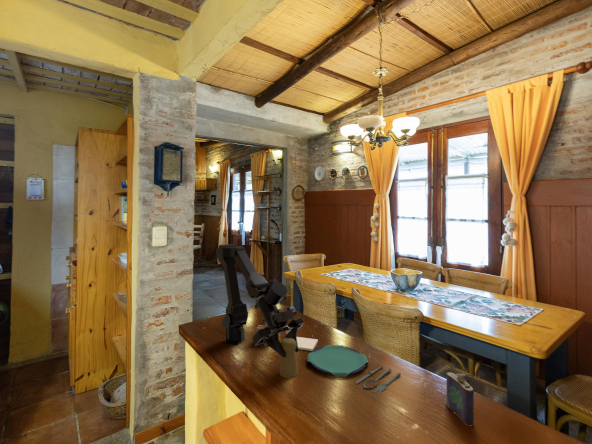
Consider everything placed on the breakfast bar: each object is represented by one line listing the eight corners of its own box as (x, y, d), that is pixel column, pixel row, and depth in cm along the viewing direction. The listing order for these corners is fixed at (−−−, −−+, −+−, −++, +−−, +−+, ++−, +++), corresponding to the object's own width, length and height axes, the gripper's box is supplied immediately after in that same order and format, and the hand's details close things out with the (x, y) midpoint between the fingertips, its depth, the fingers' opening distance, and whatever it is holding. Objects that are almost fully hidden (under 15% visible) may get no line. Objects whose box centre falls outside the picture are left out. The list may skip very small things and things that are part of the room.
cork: (295, 378, 97) (295, 344, 97) (277, 376, 98) (277, 342, 98) (299, 369, 103) (299, 336, 103) (281, 367, 104) (281, 335, 104)
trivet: (289, 347, 119) (289, 345, 119) (296, 338, 128) (296, 336, 128) (312, 351, 116) (312, 349, 116) (317, 341, 125) (317, 339, 125)
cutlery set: (333, 345, 122) (333, 339, 122) (405, 376, 100) (405, 369, 100) (296, 363, 108) (296, 356, 108) (370, 403, 86) (371, 395, 86)
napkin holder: (256, 342, 124) (256, 327, 123) (258, 339, 127) (258, 325, 126) (276, 343, 123) (276, 329, 122) (277, 340, 126) (277, 326, 125)
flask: (443, 404, 85) (444, 365, 84) (453, 403, 85) (454, 364, 85) (466, 427, 75) (468, 384, 75) (477, 426, 76) (479, 383, 75)
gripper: (257, 305, 96) (280, 352, 89) (301, 294, 109) (324, 334, 101) (243, 323, 102) (263, 368, 95) (286, 311, 115) (307, 350, 107)
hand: (291, 354), depth 99 cm, fingers closed on cork, 5 cm apart
